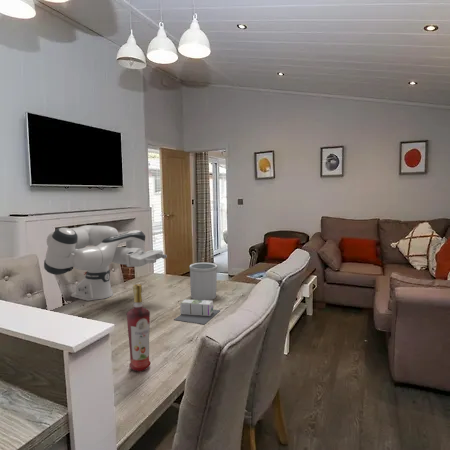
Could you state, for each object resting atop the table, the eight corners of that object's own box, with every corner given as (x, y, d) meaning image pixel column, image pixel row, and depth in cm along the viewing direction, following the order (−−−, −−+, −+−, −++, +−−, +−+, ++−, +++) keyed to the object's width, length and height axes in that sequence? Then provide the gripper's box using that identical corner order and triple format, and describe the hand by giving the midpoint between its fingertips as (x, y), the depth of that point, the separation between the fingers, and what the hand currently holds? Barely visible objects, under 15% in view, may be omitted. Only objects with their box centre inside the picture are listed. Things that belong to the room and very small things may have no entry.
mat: (174, 320, 158) (174, 319, 158) (192, 307, 174) (192, 306, 174) (204, 324, 152) (204, 323, 152) (220, 310, 169) (220, 310, 169)
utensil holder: (221, 299, 187) (221, 266, 185) (194, 302, 181) (193, 269, 179) (212, 291, 200) (211, 261, 198) (186, 294, 195) (186, 263, 193)
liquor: (133, 376, 111) (130, 289, 108) (125, 366, 117) (122, 284, 114) (155, 369, 115) (152, 285, 112) (146, 360, 121) (143, 281, 118)
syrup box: (180, 314, 164) (210, 317, 161) (180, 302, 163) (210, 304, 160) (184, 310, 169) (213, 312, 166) (184, 298, 168) (213, 300, 166)
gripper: (149, 258, 187) (172, 260, 181) (124, 267, 168) (149, 270, 163) (149, 246, 186) (171, 248, 180) (124, 255, 167) (148, 257, 162)
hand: (160, 258), depth 171 cm, fingers open, 8 cm apart
